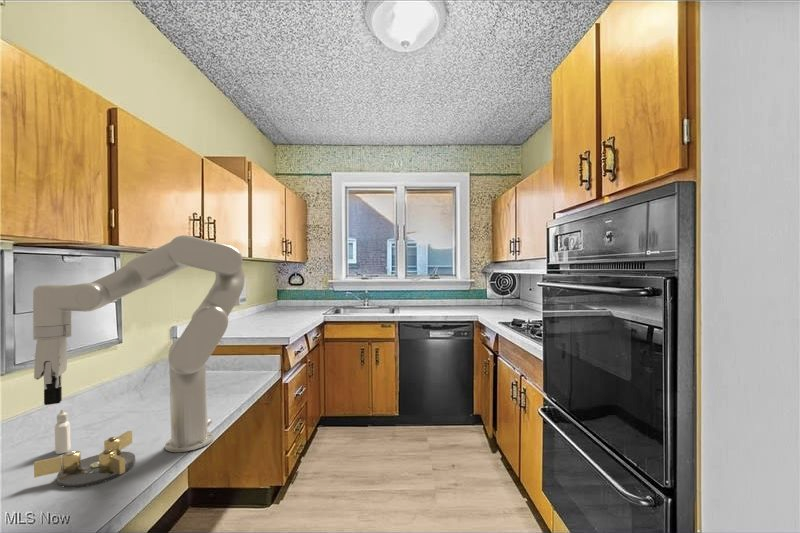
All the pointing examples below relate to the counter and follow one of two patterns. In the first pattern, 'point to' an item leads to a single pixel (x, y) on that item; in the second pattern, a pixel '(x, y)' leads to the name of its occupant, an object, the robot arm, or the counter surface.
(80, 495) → the counter surface
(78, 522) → the counter surface
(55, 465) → the knob
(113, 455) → the knob
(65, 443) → the eye dropper bottle
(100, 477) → the base
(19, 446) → the counter surface
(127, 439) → the knob
